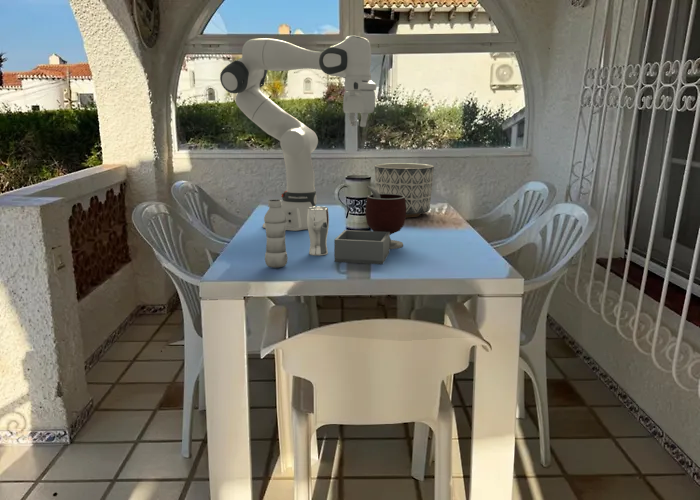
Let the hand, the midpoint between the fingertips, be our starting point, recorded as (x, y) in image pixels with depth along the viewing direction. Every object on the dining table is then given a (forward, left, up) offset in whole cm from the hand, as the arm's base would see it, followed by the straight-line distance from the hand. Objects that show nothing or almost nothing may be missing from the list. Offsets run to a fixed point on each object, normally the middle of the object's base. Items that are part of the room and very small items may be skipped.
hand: (357, 126), depth 204 cm
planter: (+11, +52, -40) cm, 67 cm away
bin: (+7, -29, -40) cm, 50 cm away
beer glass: (-8, -27, -40) cm, 49 cm away
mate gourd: (+11, -10, -40) cm, 43 cm away
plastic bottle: (-16, -46, -40) cm, 63 cm away
